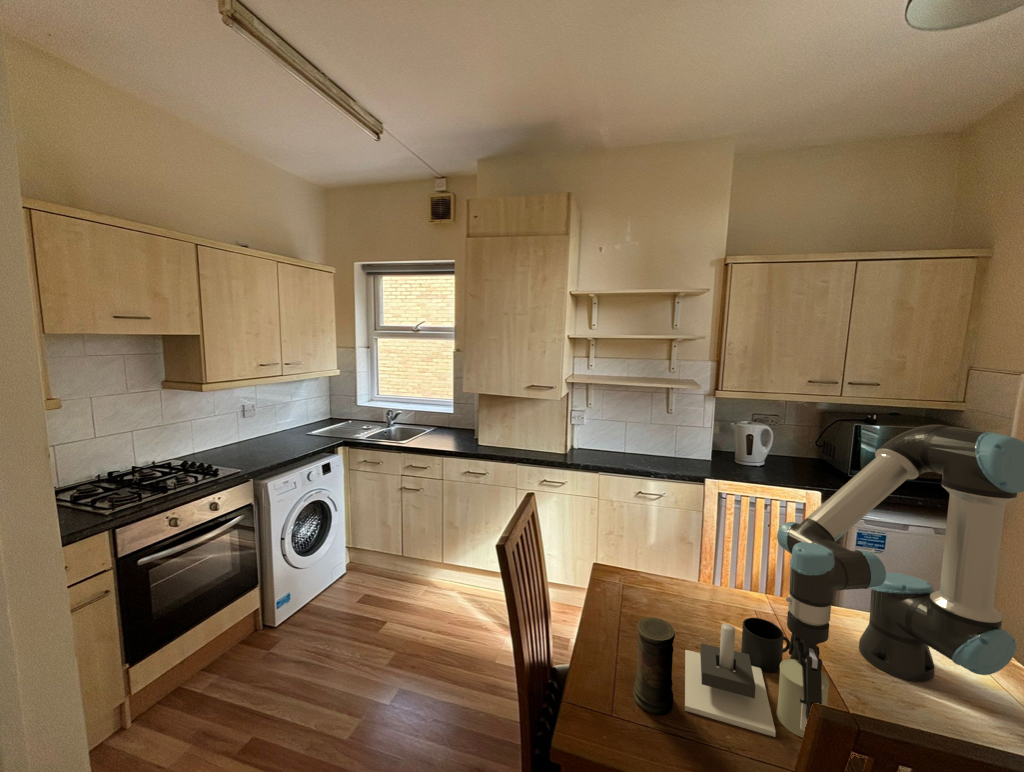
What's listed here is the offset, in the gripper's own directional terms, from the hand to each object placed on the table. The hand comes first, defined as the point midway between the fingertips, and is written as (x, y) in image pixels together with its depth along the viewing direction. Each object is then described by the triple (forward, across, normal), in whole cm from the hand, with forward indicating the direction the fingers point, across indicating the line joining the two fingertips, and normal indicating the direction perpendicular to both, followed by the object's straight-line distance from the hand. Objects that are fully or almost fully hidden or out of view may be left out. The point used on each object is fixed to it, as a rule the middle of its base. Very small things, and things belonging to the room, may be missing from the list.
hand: (801, 710), depth 96 cm
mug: (+3, -19, -4) cm, 20 cm away
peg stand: (+3, -4, -15) cm, 16 cm away
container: (+3, +6, -31) cm, 32 cm away
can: (+3, 0, 0) cm, 3 cm away
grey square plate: (-1, -4, -15) cm, 15 cm away
